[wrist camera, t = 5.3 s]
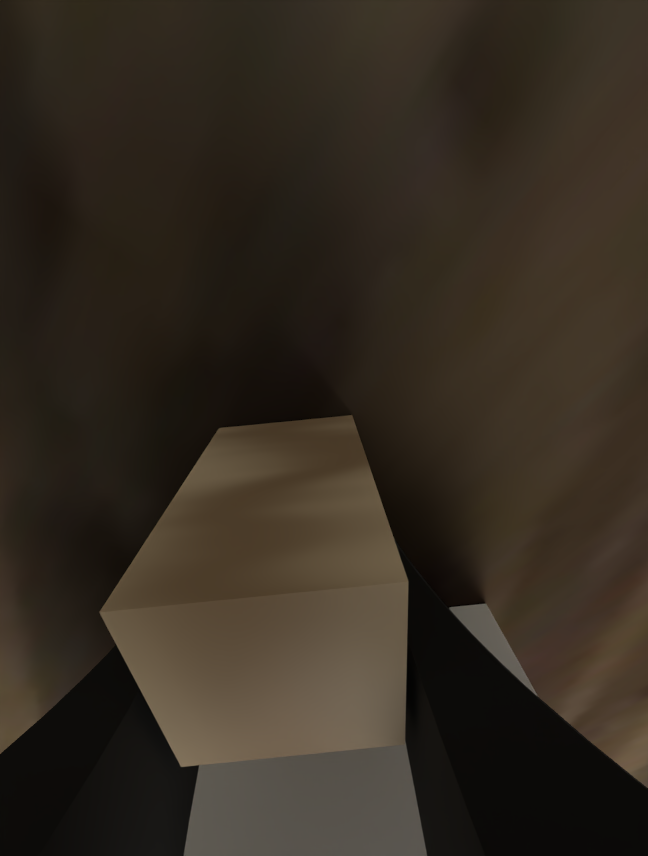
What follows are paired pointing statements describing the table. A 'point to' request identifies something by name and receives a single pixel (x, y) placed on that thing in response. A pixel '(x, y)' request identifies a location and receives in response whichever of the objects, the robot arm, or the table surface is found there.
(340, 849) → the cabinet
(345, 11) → the table surface
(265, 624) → the wooden and grey bar
